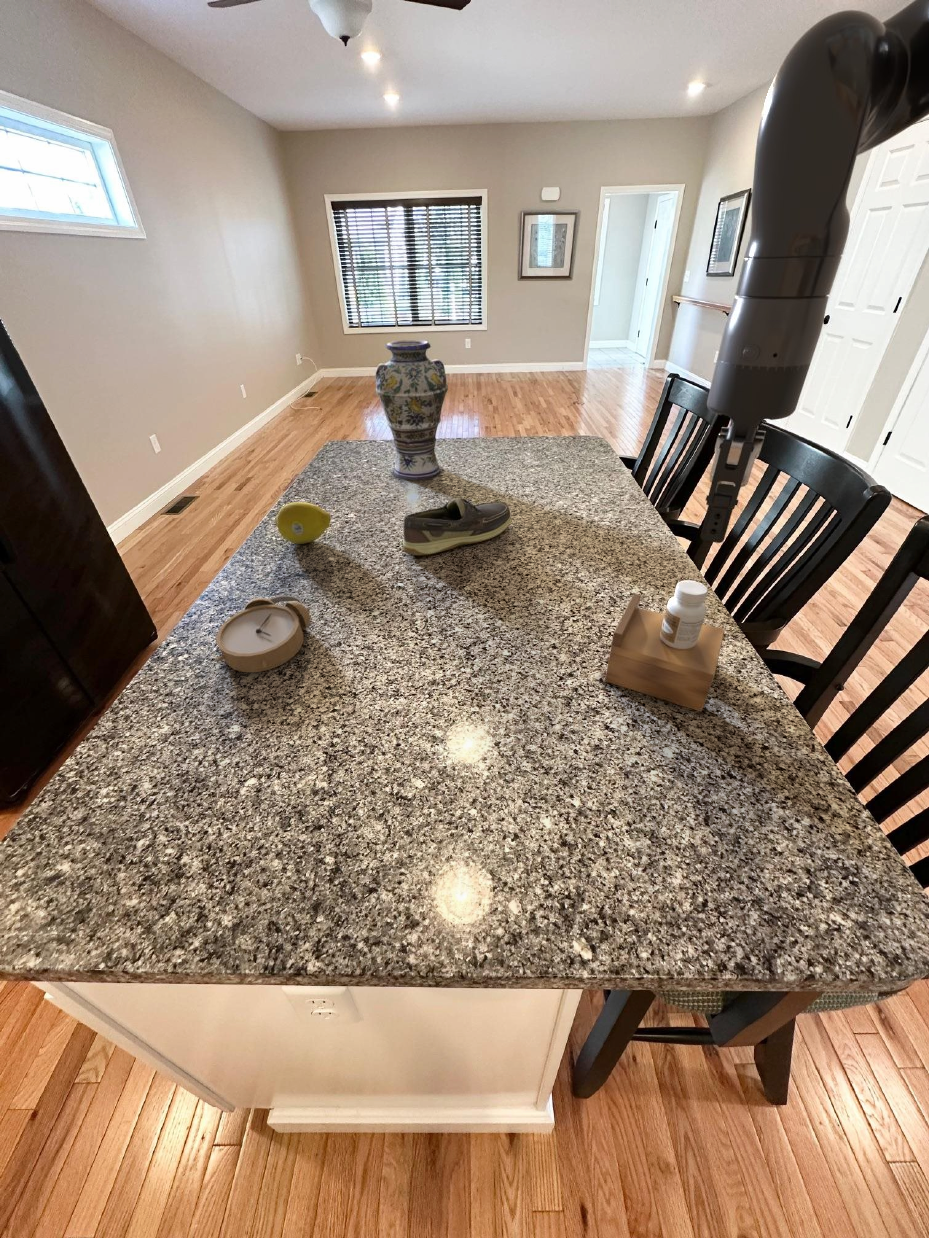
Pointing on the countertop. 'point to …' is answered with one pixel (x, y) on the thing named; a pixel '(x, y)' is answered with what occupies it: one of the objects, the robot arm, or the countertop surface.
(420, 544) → the boat shoe
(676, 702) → the shelf
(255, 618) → the alarm clock
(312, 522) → the lemon
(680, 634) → the pill bottle
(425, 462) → the vase
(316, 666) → the countertop surface
